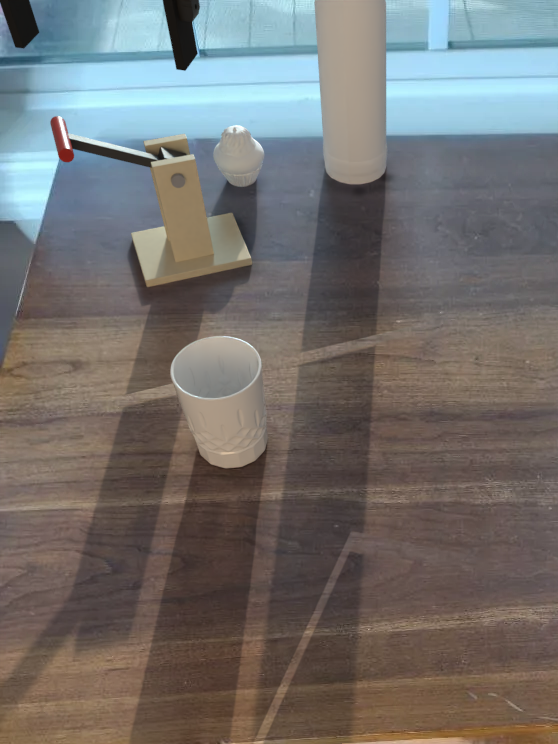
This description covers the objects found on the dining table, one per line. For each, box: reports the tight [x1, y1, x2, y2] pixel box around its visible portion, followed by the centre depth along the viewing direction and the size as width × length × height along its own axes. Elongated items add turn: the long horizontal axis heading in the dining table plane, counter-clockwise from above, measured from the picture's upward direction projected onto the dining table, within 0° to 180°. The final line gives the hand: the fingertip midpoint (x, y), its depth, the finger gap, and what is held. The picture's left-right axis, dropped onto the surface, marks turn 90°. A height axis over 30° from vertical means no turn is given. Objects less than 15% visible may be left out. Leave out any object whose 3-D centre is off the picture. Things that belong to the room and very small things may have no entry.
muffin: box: [212, 124, 265, 188], centre depth 105 cm, size 6×6×7 cm
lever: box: [49, 115, 187, 169], centre depth 88 cm, size 13×6×2 cm, turn 110°
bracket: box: [130, 133, 253, 288], centre depth 94 cm, size 12×9×13 cm
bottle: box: [313, 0, 388, 185], centre depth 97 cm, size 8×8×30 cm
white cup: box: [169, 335, 269, 469], centre depth 79 cm, size 8×8×10 cm
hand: (106, 51), depth 69 cm, fingers open, 13 cm apart
